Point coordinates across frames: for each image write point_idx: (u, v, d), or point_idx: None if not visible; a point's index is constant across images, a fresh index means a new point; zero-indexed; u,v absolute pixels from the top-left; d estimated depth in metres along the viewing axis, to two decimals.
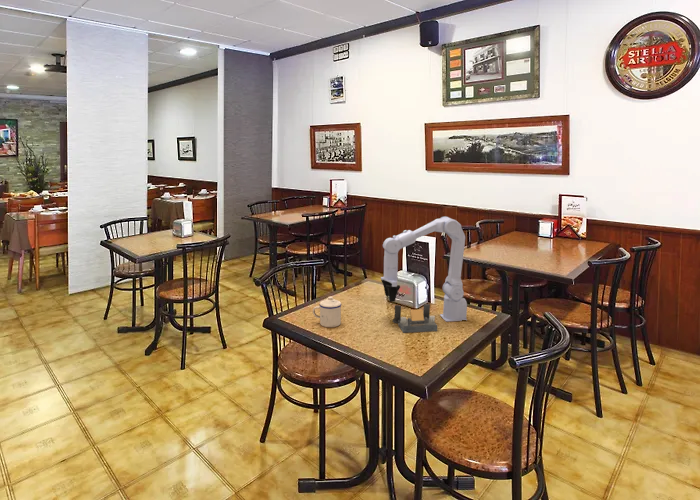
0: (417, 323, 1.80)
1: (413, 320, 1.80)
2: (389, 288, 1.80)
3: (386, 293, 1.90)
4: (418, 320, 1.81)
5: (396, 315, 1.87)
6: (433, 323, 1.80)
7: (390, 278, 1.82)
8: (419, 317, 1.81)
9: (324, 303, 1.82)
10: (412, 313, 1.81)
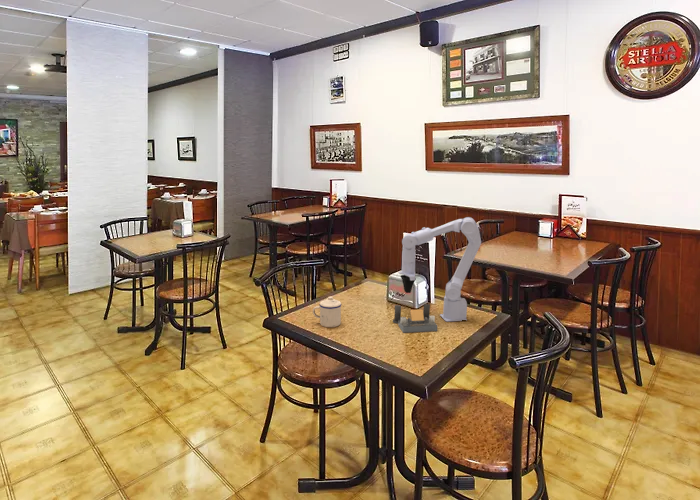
0: (417, 323, 1.80)
1: (413, 320, 1.80)
2: (405, 280, 1.91)
3: None
4: (418, 320, 1.81)
5: (396, 315, 1.87)
6: (433, 323, 1.80)
7: (408, 272, 1.90)
8: (419, 317, 1.81)
9: (324, 303, 1.82)
10: (412, 313, 1.81)
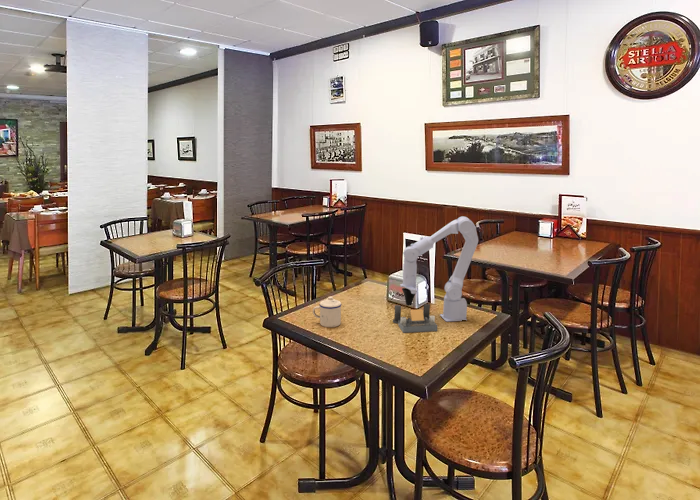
0: (417, 323, 1.80)
1: (413, 320, 1.80)
2: (406, 292, 1.90)
3: None
4: (418, 320, 1.81)
5: (396, 315, 1.87)
6: (433, 323, 1.80)
7: (409, 285, 1.89)
8: (419, 317, 1.81)
9: (324, 303, 1.82)
10: (412, 313, 1.81)
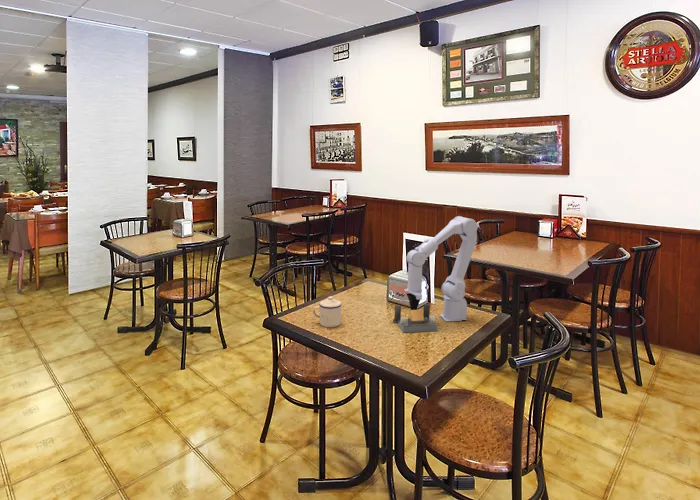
0: (417, 323, 1.80)
1: (413, 320, 1.80)
2: (411, 298, 1.82)
3: None
4: (418, 320, 1.81)
5: (396, 315, 1.87)
6: (433, 323, 1.80)
7: (414, 290, 1.82)
8: (419, 317, 1.81)
9: (324, 303, 1.82)
10: (412, 313, 1.81)
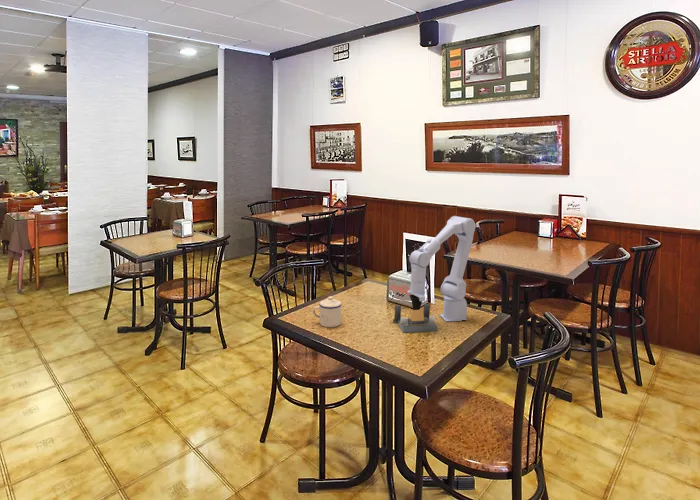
0: (417, 323, 1.80)
1: (413, 320, 1.80)
2: (413, 299, 1.78)
3: None
4: (418, 320, 1.81)
5: (396, 315, 1.87)
6: (433, 323, 1.80)
7: (417, 292, 1.77)
8: (419, 317, 1.81)
9: (324, 303, 1.82)
10: (412, 313, 1.81)
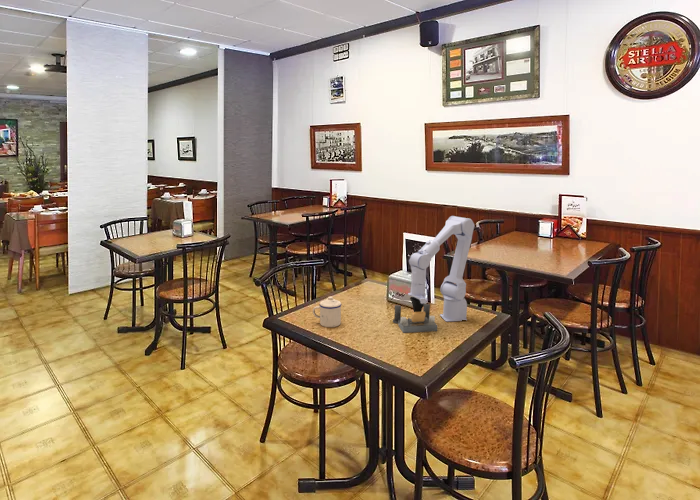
0: (417, 323, 1.80)
1: (413, 321, 1.80)
2: (415, 302, 1.78)
3: None
4: (418, 321, 1.81)
5: (396, 315, 1.87)
6: (433, 323, 1.80)
7: (418, 294, 1.77)
8: (420, 319, 1.80)
9: (324, 303, 1.82)
10: (414, 316, 1.79)
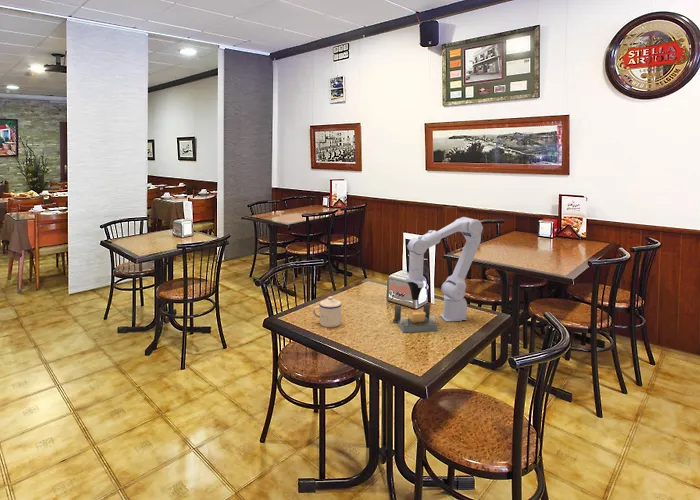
0: (417, 323, 1.80)
1: (413, 321, 1.80)
2: (413, 287, 1.81)
3: None
4: (418, 321, 1.81)
5: (396, 315, 1.87)
6: (433, 323, 1.80)
7: (416, 279, 1.80)
8: (420, 319, 1.80)
9: (324, 303, 1.82)
10: (414, 317, 1.78)
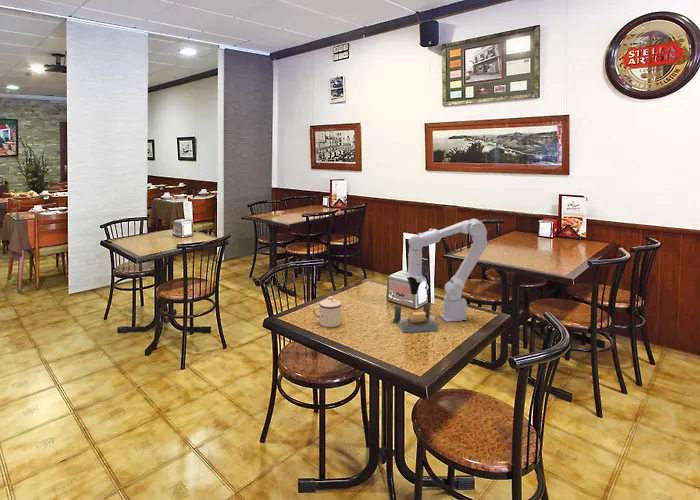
0: (417, 323, 1.80)
1: (413, 321, 1.80)
2: (411, 281, 1.88)
3: None
4: (418, 321, 1.81)
5: (396, 315, 1.87)
6: (433, 323, 1.80)
7: (415, 274, 1.88)
8: (420, 319, 1.80)
9: (324, 303, 1.82)
10: (414, 317, 1.78)
